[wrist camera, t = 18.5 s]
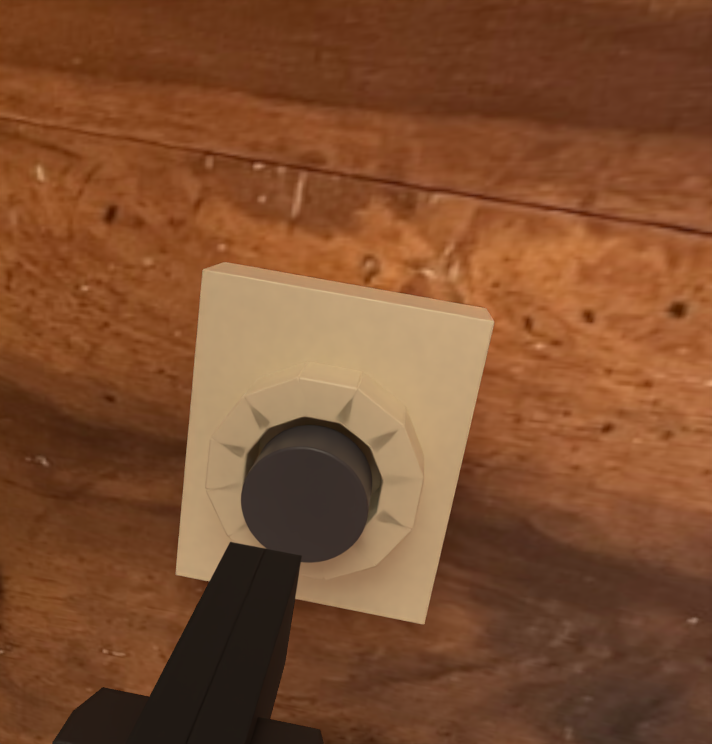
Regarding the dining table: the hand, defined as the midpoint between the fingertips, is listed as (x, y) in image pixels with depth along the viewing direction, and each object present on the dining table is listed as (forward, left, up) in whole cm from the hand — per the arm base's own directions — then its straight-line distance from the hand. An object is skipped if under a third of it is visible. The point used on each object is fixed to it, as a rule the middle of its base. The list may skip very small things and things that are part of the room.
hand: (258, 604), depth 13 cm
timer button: (0, 0, -6) cm, 6 cm away
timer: (0, 0, -10) cm, 10 cm away
